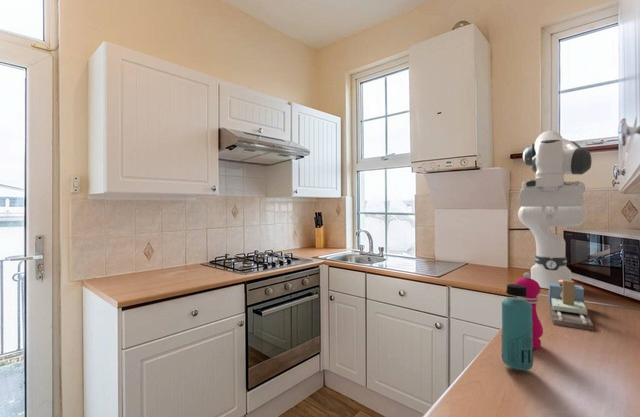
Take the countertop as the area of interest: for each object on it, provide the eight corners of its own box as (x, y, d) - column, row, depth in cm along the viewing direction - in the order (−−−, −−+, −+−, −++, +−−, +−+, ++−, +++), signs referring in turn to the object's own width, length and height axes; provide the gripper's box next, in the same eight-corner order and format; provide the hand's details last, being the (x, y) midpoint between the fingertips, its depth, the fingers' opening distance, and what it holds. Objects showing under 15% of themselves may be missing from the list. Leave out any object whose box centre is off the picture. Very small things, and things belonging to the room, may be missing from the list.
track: (549, 306, 120) (549, 301, 120) (583, 311, 114) (583, 305, 114) (553, 324, 103) (553, 317, 103) (593, 330, 97) (593, 323, 97)
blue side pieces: (548, 302, 125) (548, 282, 124) (581, 307, 119) (581, 285, 119) (549, 307, 119) (549, 285, 119) (584, 311, 114) (584, 289, 114)
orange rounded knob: (557, 291, 122) (557, 279, 122) (572, 293, 120) (572, 280, 120) (558, 294, 119) (558, 281, 119) (573, 296, 116) (573, 282, 116)
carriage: (551, 302, 118) (551, 276, 118) (582, 306, 113) (582, 279, 113) (553, 309, 110) (553, 282, 110) (587, 314, 105) (587, 285, 105)
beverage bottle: (522, 379, 71) (522, 290, 70) (494, 366, 77) (494, 283, 76) (540, 372, 74) (540, 286, 73) (512, 360, 80) (512, 280, 79)
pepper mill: (533, 339, 91) (533, 270, 91) (549, 350, 84) (549, 275, 84) (507, 338, 92) (507, 269, 92) (520, 349, 85) (520, 275, 85)
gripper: (583, 181, 117) (583, 218, 118) (518, 183, 129) (518, 218, 129) (586, 180, 112) (586, 219, 112) (518, 183, 123) (518, 218, 124)
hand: (549, 218), depth 121 cm, fingers closed
